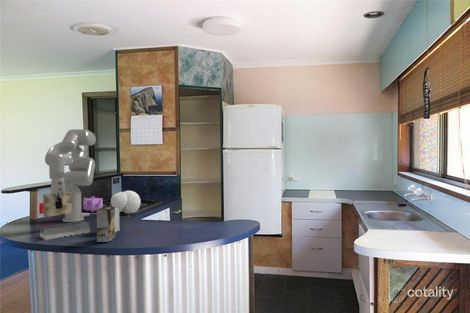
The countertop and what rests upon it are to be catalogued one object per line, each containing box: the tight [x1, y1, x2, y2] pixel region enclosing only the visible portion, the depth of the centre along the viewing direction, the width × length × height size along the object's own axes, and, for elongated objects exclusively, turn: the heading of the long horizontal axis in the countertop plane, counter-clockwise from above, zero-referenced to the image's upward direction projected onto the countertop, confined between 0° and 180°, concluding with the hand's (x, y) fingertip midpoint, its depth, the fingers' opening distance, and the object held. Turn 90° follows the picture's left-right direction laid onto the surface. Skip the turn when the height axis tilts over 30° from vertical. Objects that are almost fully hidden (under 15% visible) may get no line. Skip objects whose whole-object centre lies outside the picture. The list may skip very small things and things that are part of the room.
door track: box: [39, 220, 91, 241], centre depth 178 cm, size 22×9×5 cm, turn 133°
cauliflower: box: [110, 190, 141, 215], centre depth 234 cm, size 20×18×16 cm
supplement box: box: [115, 209, 121, 233], centre depth 182 cm, size 7×7×13 cm
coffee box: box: [96, 206, 116, 243], centre depth 165 cm, size 9×6×16 cm
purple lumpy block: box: [82, 196, 104, 213], centre depth 246 cm, size 15×13×11 cm
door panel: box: [42, 192, 72, 218], centre depth 189 cm, size 14×3×12 cm, turn 133°
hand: (58, 207), depth 189 cm, fingers closed on door panel, 3 cm apart
